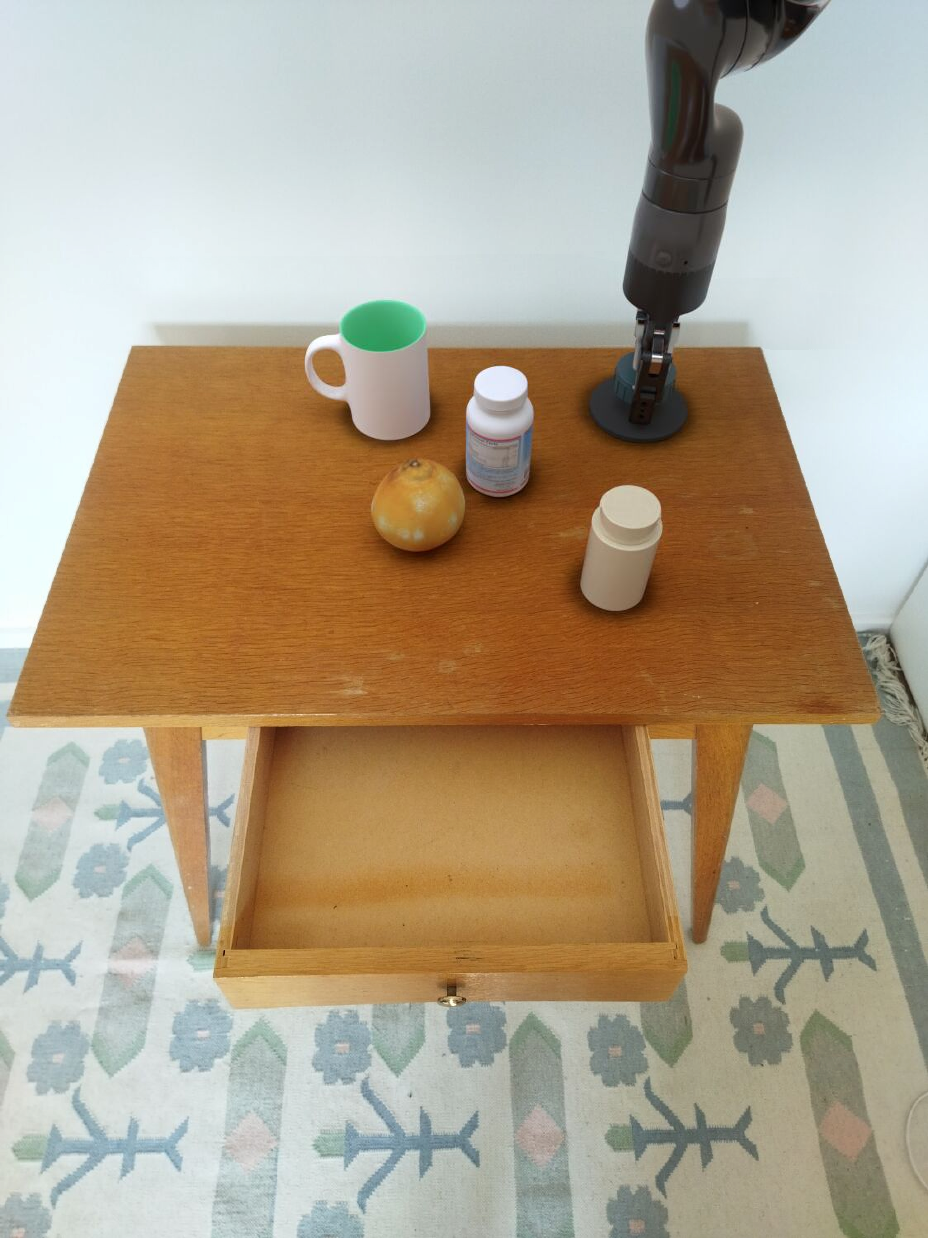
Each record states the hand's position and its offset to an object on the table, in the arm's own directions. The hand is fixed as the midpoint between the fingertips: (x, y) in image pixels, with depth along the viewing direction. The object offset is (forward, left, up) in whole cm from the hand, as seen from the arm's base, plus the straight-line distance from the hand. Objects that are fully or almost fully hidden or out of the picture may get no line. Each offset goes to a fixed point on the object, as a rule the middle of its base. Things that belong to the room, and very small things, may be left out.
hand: (640, 400), depth 84 cm
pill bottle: (+13, +12, -1) cm, 18 cm away
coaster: (0, 0, -1) cm, 1 cm away
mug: (+27, +5, -1) cm, 28 cm away
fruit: (+19, +20, -1) cm, 28 cm away
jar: (+1, +23, -1) cm, 24 cm away
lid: (0, 0, +4) cm, 4 cm away
